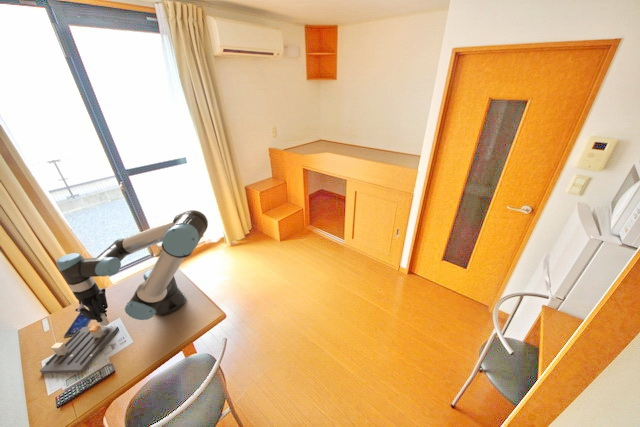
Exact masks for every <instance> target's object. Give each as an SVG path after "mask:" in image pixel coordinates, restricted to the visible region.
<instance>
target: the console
mask: <svg viewBox="0 0 640 427" xmlns="http://www.w3.org/2000/svg"><path fill="white" fill-rule="evenodd" d="M91 327H92V326H87V327H82V328H81V329H80V330H79V331H77V332H76V333H75V334H74V335H73V336H71V338H70V337H69V339H68V341H66V342H64V344H65V346H66V347H67V349H68V350H69V351H68V352H67V354H66V355H58V356H57V354H56V353H55V354H53V355H52V356H51V358H49V359H48V360H47V361H46V362H45V364H44V366H42V368H41V369H39V372H40V373H41V374H42V375H43V374H44V375H45V374H46V373H56V374H83V373H84V372H85V371H86V369H87V368H89V366H90V365H91V364H92V362H94V361H95V359H96V358H97V357H98V355H99V354H100V353H101V352H102V350H103V349H104V348H105V347H106V346H107V345H108V343H109V342H110V341H111V340H112V339H113V337H114V336H115V335H116V334H117V333H118V331H119V327H118V326H100V327H101V329H102V331H103V333H104V334H103V336H102V337H101V338H94V337H93V336H92V334H91V333H90V332H89V329H90V328H91ZM46 375H47V374H46Z"/></svg>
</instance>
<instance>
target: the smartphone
mask: <svg viewBox="0 0 640 427" xmlns="http://www.w3.org/2000/svg"><path fill="white" fill-rule="evenodd" d="M73 320H74V321H73V322H72V323H71V325H70V327H68V329H67V330H66V332H65V333H64V335H63V338H70V337H72V336H73V335H74V334H75V333H76V332H77V331H79V330H80V329H81V328H82V327H89V324H90V323H91V321H92V320H89V319H88V318H87V317H85V316H84V315H83V314H82V313H80V312H79V313H78V314H77V316H76V317H75V319H73Z"/></svg>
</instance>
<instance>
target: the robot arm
mask: <svg viewBox="0 0 640 427" xmlns="http://www.w3.org/2000/svg"><path fill="white" fill-rule="evenodd" d="M208 226H209V223H208V218H207V217H206V215H205V214H204V213H202V212H201V211H199V210H194V209H193V210H187V211H184V212H182V213H179V214H176V215H175V216H174V217H173V219H171V220H168V221H165V222H163V223H161V224H158V225H156V226H154V227H151V228H147V229H145V230H144V231H141V232H138V233H136V234H133V235H131V236H122V237H120V238H118V239H117V240H114V242H113V243H112V244H110V245H109V246H108V247H107V248H106V249H104V251H103V252H101V253H100V254H99V255H98V256H97V257H93V258H91V257H90V258H89V257H88V258H87V257H86V258H84V257H83V256H82V254H81V253H79V252H72V253H68V254H65V255H63V256H60V257H59V258H58V259H57V260H56V262H55V265H56V267H57V269H58V272H60V274H61V275H62V277H63V279H64V280H65V282H66V284H67V285H68V288H69V289H70V290H71V292H72V294H73V296H74V297H75V299H77V300H78V305H79V307H78V308H75V312H79V313H82V314H83V315H84V316H85V317H87V318H88V319H89V320H91V321H92V320H94V321H96V323H99V325H100V327H108V325H109V324H110V321H109V319H108V318H107V316H108V315H107V312H108V310H107V309H108V307H109V305H108V301H107V296H106V288H99V285H98V284H97V282H96V280H95V278H94V277H107V276H115V275H116V274H118V273H119V271H120V269H121V268H122V267H121V266H122V260H124V259H125V257H127V256H129V255H132V254H134V253H136V252H139V251H141V250H145V249H147V248H149V247H151V246H155V245H157V244H160V243H161V249H162V251H161V252H160V254H159V257H158V259H157V260H156V262H155V263H154V265H153V267H152V268H150V269H147V270H146V271H145V273H144V274H143V279H144V281H143V282H142V283H140V284H139V285H138V286H137V287H136V289H135V292H134V294H133V295H132V297H131V298H130V300H128V302H126V305H125V307H124V311H125V313H126V315H127V316H129V317H130V318H132V319H135V320H139V321H144V320H145V321H146V320H149V319H152V318H153V317H154V316H155V315H156V316H168V315H170V314H174V313H175V312H176V311H179V309H182V307H183V306H184V304H185V303H184V301H185V302H186V296H185V293H184V292H183V291H181V289H180V288H179V287H178V284H177V281H176V279H175V274H176V273H177V271H178V269H179V268H180V266H181V265H182V263H183V261H184V260H185V259H187V258H189V257H190V256H191V255H192V254H193V252H194V250H196V248H197V246H198V245H199V243H200V241H201V239H202V237H203V236H204V234H205V232H207V229H208ZM183 303H184V304H183ZM182 305H183V306H182ZM181 306H182V307H181Z"/></svg>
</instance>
